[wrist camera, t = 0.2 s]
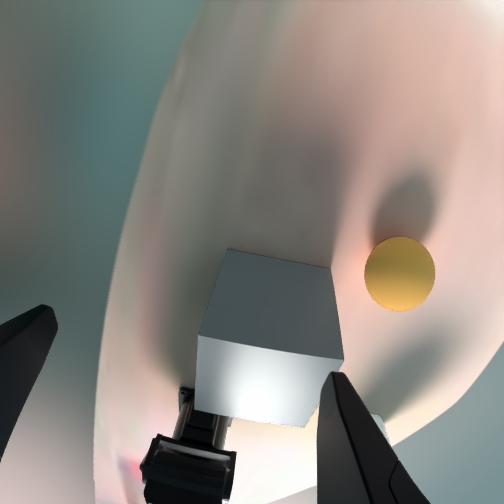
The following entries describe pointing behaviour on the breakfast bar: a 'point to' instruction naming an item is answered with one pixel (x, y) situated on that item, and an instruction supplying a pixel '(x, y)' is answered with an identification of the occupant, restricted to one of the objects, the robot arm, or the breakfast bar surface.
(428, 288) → the ball
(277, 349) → the matte grey cube
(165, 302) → the breakfast bar surface
